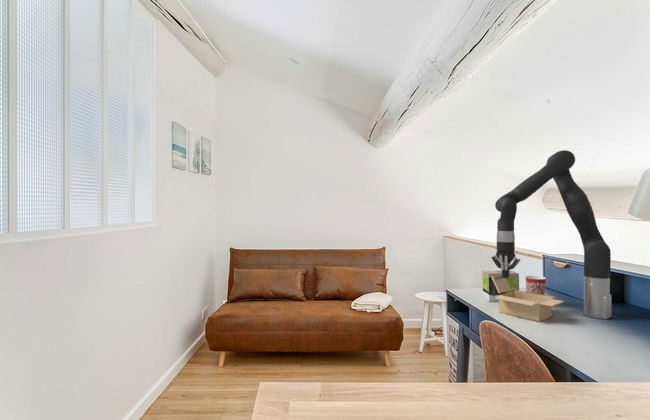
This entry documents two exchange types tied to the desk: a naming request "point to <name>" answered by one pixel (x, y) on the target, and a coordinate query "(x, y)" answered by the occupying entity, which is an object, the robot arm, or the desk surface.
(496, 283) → the flap
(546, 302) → the carton
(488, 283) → the tea box
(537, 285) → the mug
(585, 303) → the robot arm
